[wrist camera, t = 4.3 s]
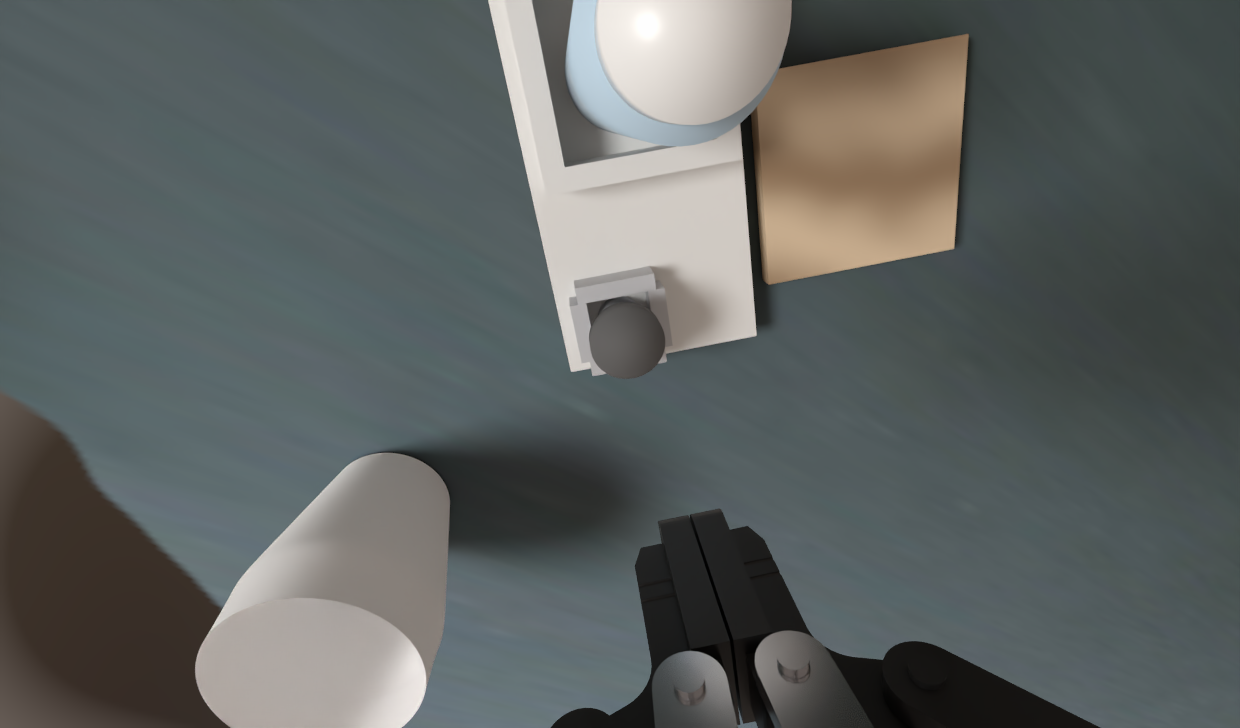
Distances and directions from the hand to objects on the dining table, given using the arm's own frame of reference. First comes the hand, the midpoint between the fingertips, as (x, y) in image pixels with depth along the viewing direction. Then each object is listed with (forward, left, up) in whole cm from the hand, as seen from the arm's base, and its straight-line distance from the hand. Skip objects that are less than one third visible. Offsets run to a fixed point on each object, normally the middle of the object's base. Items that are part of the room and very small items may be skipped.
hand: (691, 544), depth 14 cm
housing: (-6, +2, -19) cm, 20 cm away
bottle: (-11, +2, -17) cm, 21 cm away
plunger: (0, 0, -17) cm, 17 cm away
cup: (+9, -15, -19) cm, 26 cm away
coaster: (-5, +13, -19) cm, 23 cm away
